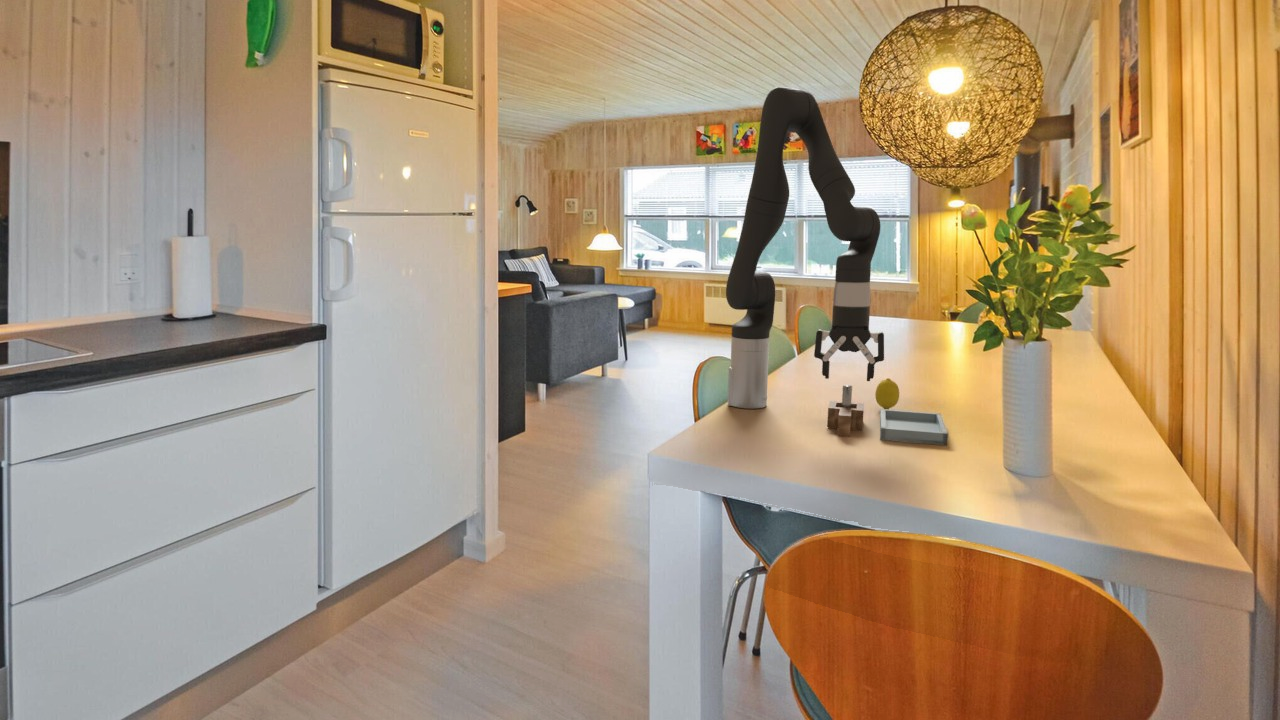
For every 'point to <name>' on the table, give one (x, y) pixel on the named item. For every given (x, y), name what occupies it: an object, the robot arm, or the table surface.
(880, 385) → the lemon
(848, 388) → the peg
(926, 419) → the tray
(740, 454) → the table surface
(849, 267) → the robot arm
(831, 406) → the collar
